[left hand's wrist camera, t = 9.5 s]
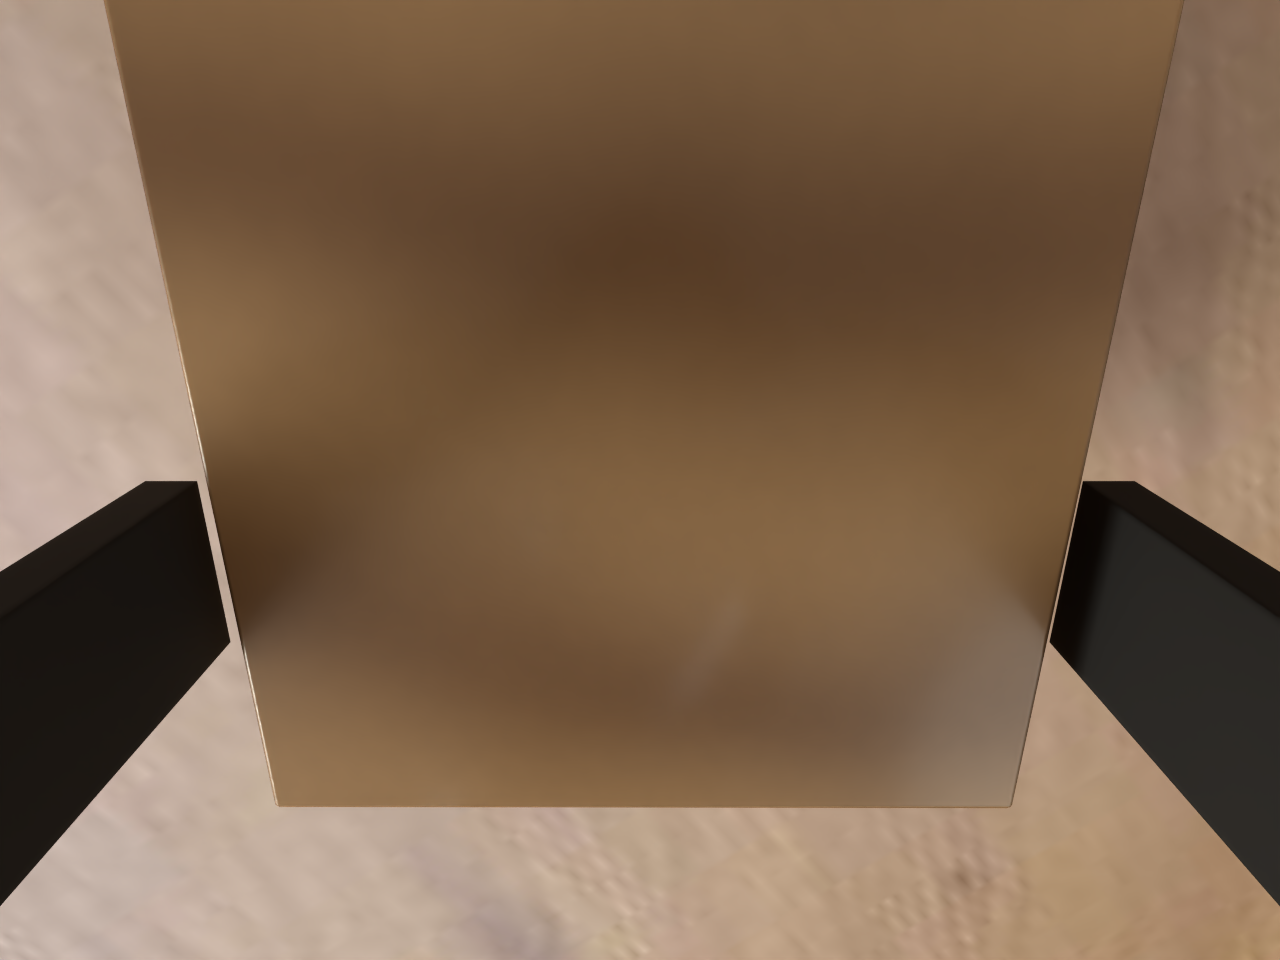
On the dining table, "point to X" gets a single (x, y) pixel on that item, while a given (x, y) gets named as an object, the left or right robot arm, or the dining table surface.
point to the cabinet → (643, 378)
